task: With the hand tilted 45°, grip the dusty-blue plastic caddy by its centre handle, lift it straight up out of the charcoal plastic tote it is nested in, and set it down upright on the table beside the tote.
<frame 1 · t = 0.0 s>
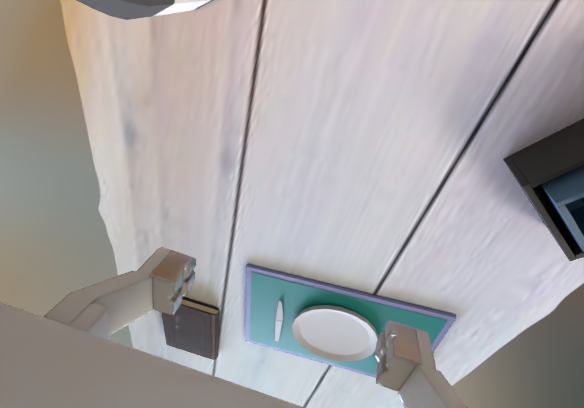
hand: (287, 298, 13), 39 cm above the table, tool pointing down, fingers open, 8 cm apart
place mat: (334, 328, 77), on the table
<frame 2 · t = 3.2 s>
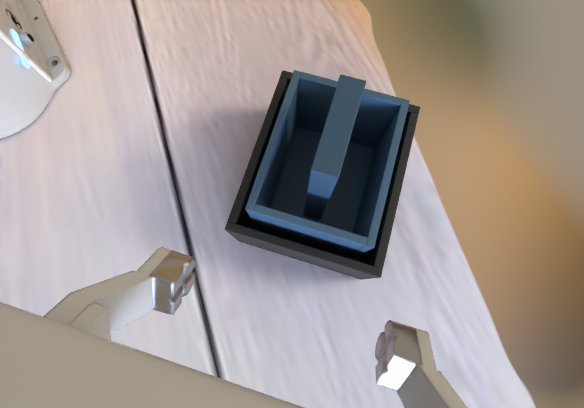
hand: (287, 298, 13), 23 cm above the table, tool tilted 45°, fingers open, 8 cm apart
tote: (320, 188, 38), on the table
caddy: (320, 186, 37), point 1 cm above the table, touching tote
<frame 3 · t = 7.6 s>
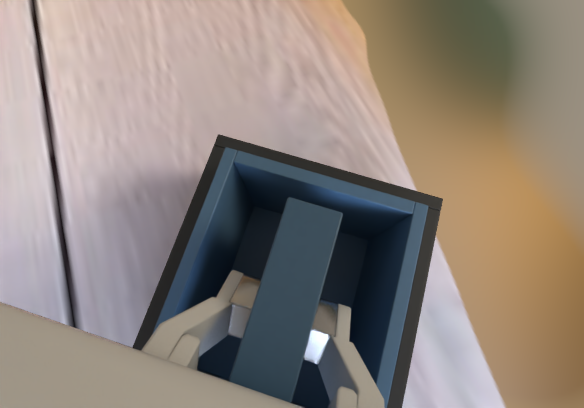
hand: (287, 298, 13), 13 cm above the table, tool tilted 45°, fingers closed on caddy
tote: (287, 300, 25), on the table
caddy: (287, 300, 24), point 1 cm above the table, touching gripper, tote
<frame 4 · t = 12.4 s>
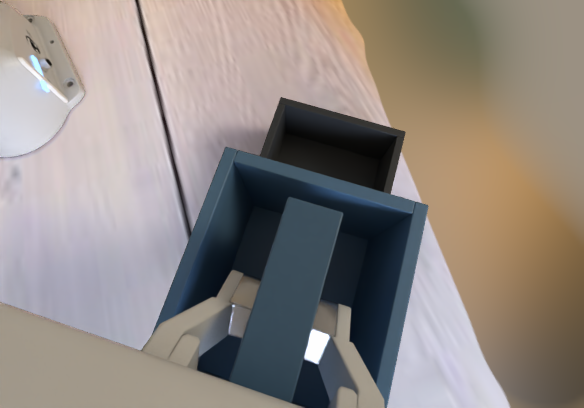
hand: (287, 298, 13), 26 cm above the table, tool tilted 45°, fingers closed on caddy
tote: (315, 203, 41), on the table
caddy: (287, 300, 24), point 14 cm above the table, touching gripper
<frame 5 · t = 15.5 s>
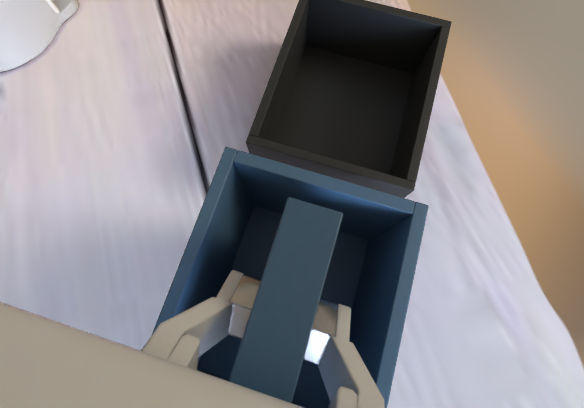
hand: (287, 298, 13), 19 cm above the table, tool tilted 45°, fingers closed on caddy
tote: (341, 121, 36), on the table
caddy: (287, 300, 24), point 7 cm above the table, touching gripper
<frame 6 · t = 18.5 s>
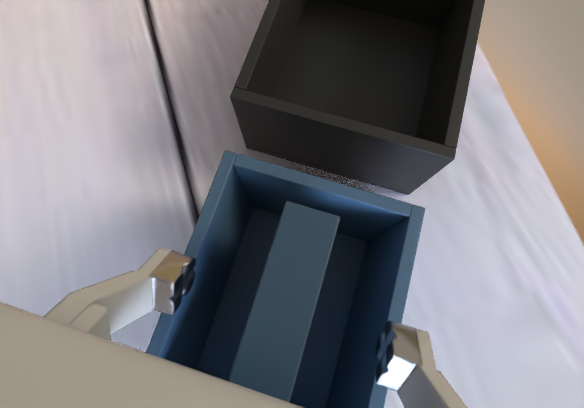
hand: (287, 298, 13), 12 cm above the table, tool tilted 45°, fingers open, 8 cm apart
tote: (351, 86, 30), on the table
caddy: (286, 301, 25), on the table
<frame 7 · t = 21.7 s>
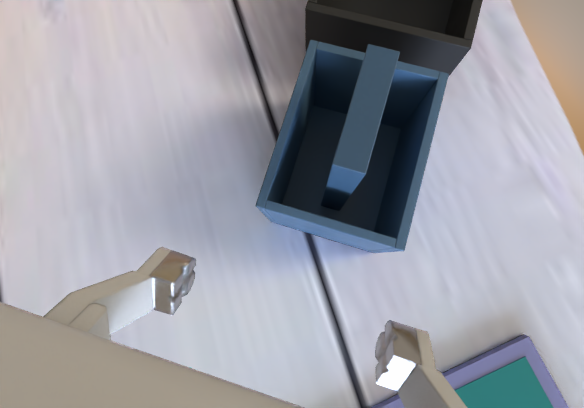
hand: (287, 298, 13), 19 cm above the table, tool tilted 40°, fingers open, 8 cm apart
tote: (388, 10, 36), on the table
caddy: (340, 173, 33), on the table
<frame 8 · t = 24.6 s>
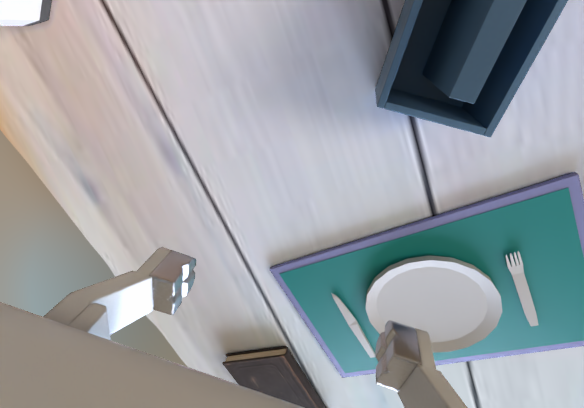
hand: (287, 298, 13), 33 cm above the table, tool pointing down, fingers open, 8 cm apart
place mat: (427, 299, 53), on the table
caddy: (445, 38, 35), on the table
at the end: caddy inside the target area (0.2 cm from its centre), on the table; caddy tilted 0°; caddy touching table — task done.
